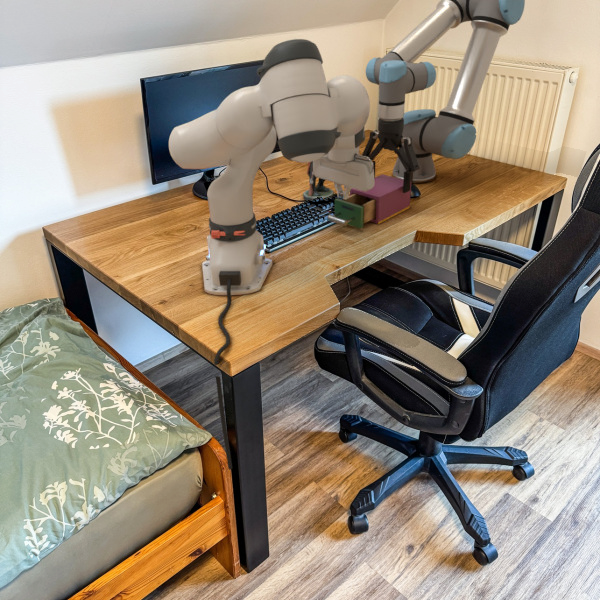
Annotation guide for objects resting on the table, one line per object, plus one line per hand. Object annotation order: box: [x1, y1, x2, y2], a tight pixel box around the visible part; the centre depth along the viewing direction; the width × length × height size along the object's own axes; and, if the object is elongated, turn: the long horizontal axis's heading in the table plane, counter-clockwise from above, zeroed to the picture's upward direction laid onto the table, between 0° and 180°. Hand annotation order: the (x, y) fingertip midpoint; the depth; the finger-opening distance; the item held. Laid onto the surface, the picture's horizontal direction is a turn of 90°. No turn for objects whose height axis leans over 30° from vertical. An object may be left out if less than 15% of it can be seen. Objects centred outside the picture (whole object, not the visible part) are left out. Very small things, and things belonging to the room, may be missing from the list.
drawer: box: [327, 193, 376, 229], centre depth 169 cm, size 20×10×7 cm, turn 136°
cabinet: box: [349, 173, 412, 225], centre depth 176 cm, size 16×11×9 cm
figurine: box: [302, 161, 335, 202], centre depth 181 cm, size 11×11×30 cm
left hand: (343, 198), depth 162 cm, fingers closed
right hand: (388, 186), depth 177 cm, fingers open, 13 cm apart
